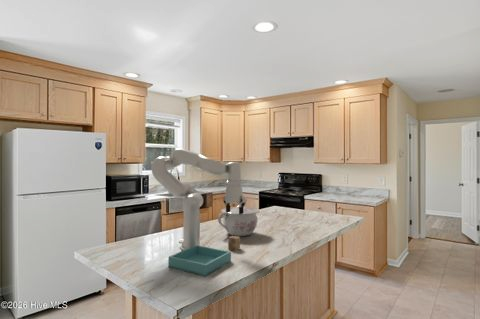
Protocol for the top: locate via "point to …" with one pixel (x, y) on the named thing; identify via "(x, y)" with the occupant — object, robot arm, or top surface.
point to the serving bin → (199, 260)
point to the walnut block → (233, 243)
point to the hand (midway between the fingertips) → (234, 212)
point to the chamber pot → (239, 220)
